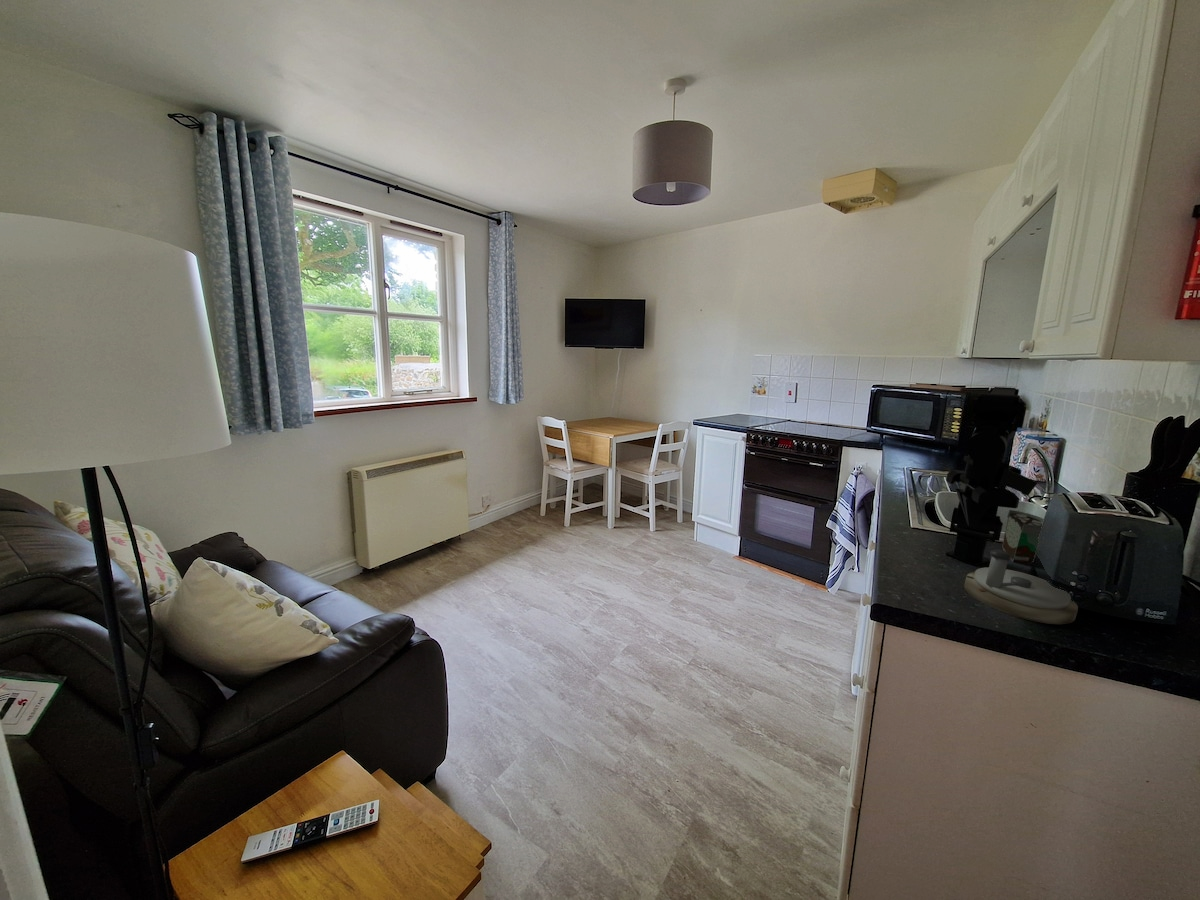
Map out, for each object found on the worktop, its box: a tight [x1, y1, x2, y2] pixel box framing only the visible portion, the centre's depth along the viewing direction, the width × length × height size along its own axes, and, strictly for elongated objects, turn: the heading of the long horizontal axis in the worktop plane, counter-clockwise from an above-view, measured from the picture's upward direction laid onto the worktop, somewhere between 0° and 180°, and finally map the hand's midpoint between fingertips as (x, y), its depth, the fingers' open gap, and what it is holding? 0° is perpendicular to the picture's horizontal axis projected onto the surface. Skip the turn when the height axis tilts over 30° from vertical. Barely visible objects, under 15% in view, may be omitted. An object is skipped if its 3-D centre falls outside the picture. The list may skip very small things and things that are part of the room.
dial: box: [974, 548, 1072, 609], centre depth 88 cm, size 14×14×8 cm
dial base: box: [963, 571, 1079, 625], centre depth 89 cm, size 16×16×2 cm
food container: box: [1001, 509, 1044, 564], centre depth 108 cm, size 12×6×10 cm, turn 151°
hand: (971, 525), depth 96 cm, fingers closed
